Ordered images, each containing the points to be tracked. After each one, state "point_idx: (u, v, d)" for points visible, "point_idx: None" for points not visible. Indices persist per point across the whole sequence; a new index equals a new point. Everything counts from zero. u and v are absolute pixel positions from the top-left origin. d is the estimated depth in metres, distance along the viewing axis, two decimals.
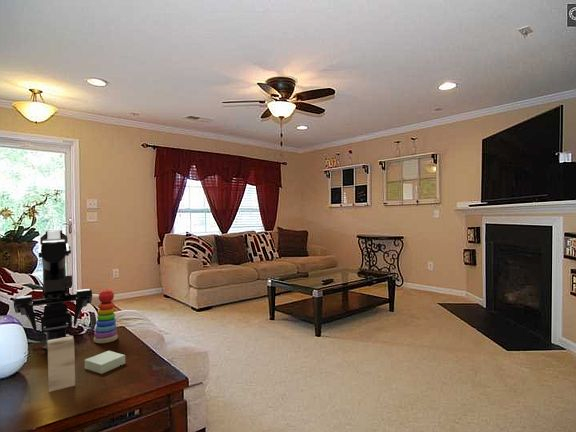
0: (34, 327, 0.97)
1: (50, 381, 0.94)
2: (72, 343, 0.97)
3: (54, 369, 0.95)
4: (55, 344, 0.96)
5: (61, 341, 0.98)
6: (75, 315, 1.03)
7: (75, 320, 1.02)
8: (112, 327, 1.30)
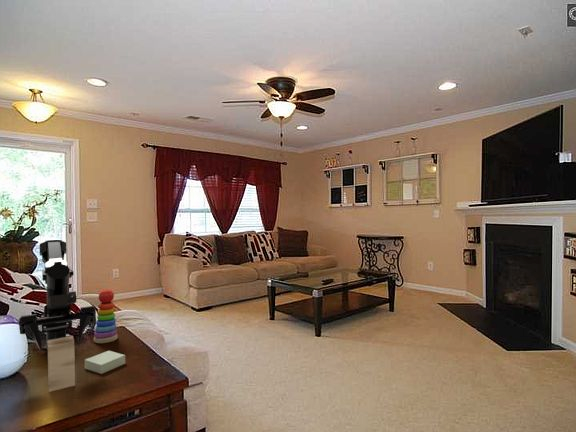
0: (39, 344, 0.98)
1: (50, 381, 0.94)
2: (72, 343, 0.97)
3: (54, 369, 0.95)
4: (55, 344, 0.96)
5: (61, 341, 0.98)
6: (79, 331, 1.04)
7: (80, 336, 1.03)
8: (112, 327, 1.30)
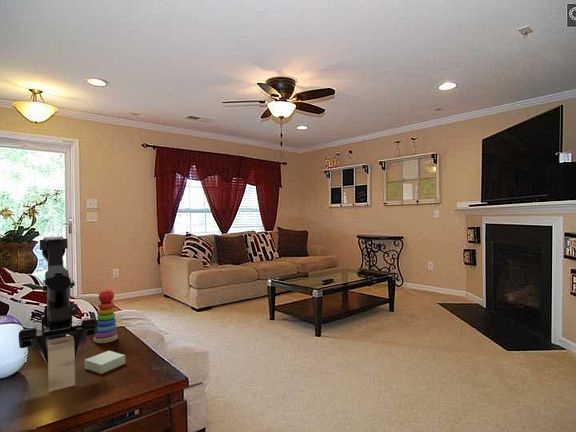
0: (46, 357, 0.95)
1: (50, 381, 0.94)
2: (72, 343, 0.97)
3: (54, 369, 0.95)
4: (55, 344, 0.96)
5: (61, 341, 0.98)
6: (75, 346, 1.00)
7: (75, 351, 0.99)
8: (112, 327, 1.30)
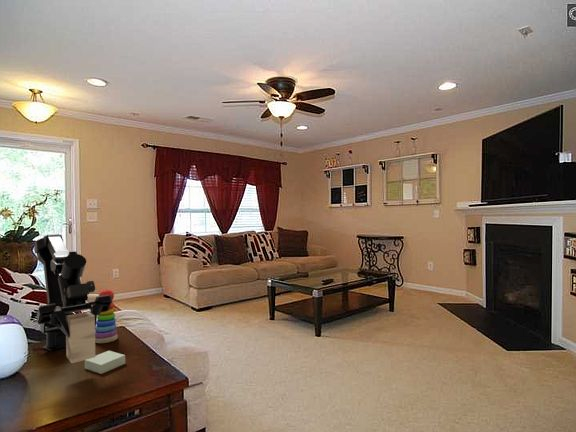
0: (67, 331, 0.99)
1: (73, 353, 0.99)
2: (93, 317, 1.02)
3: (77, 341, 0.99)
4: (77, 318, 1.00)
5: (81, 316, 1.02)
6: None
7: None
8: (112, 327, 1.30)
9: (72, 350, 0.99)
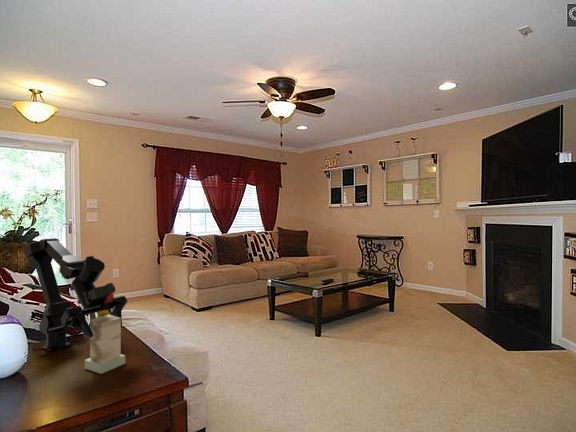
0: (90, 332, 1.05)
1: (103, 354, 1.06)
2: (119, 319, 1.10)
3: (106, 343, 1.07)
4: (106, 321, 1.07)
5: (107, 319, 1.09)
6: None
7: None
8: None
9: (103, 351, 1.06)
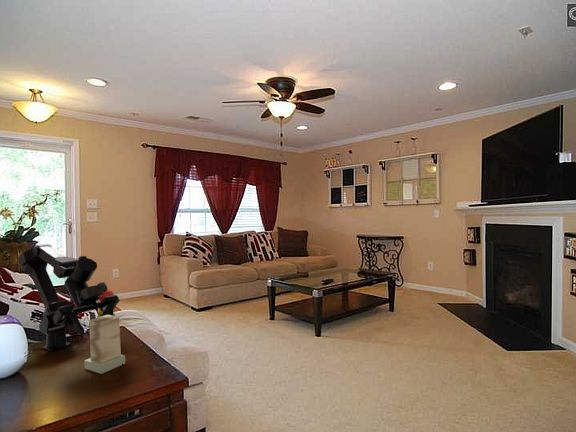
0: (82, 330, 1.07)
1: (103, 353, 1.06)
2: (117, 318, 1.11)
3: (106, 342, 1.07)
4: (104, 320, 1.08)
5: (106, 318, 1.10)
6: None
7: None
8: None
9: (102, 350, 1.06)
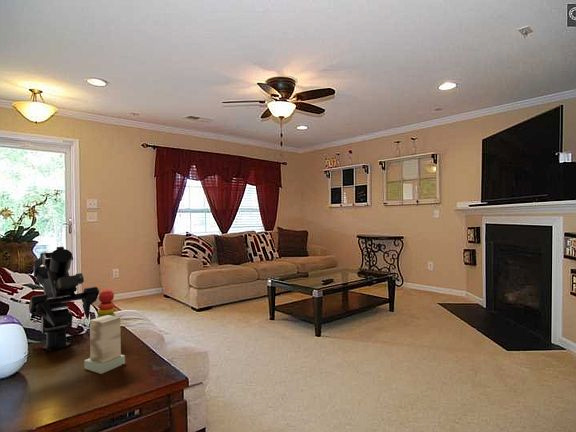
0: (53, 320, 1.07)
1: (104, 353, 1.06)
2: (119, 318, 1.11)
3: (107, 342, 1.07)
4: (105, 320, 1.08)
5: (106, 318, 1.09)
6: (87, 308, 1.15)
7: (88, 313, 1.14)
8: None
9: (103, 350, 1.06)
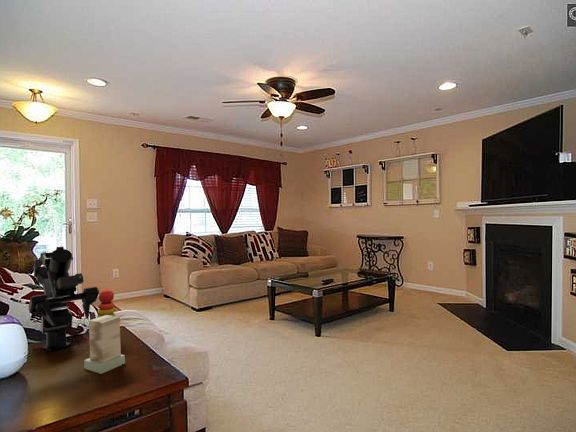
0: (53, 320, 1.07)
1: (104, 353, 1.06)
2: (118, 318, 1.11)
3: (107, 342, 1.07)
4: (105, 320, 1.07)
5: (106, 318, 1.09)
6: (87, 308, 1.15)
7: (88, 313, 1.14)
8: None
9: (104, 350, 1.06)
